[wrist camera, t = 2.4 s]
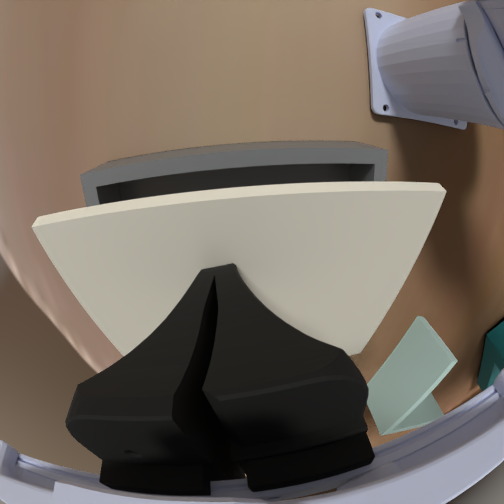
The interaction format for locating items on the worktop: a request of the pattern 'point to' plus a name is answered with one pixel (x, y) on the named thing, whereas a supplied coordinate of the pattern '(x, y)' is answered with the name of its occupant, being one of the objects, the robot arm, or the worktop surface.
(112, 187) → the storage box
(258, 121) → the worktop surface
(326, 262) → the lid
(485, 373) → the teal stepped block
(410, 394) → the l-shaped corner panel
